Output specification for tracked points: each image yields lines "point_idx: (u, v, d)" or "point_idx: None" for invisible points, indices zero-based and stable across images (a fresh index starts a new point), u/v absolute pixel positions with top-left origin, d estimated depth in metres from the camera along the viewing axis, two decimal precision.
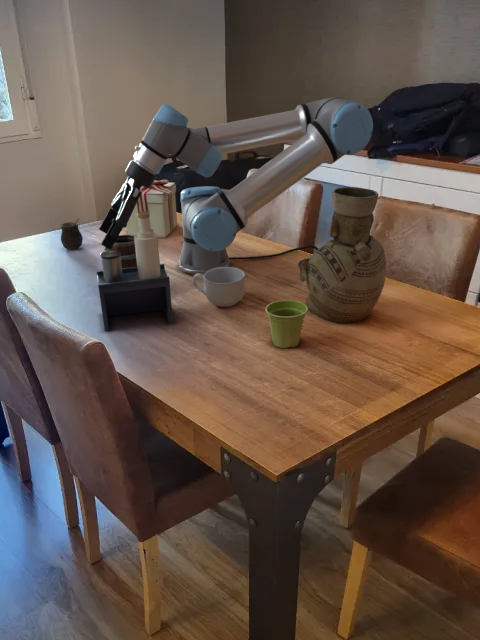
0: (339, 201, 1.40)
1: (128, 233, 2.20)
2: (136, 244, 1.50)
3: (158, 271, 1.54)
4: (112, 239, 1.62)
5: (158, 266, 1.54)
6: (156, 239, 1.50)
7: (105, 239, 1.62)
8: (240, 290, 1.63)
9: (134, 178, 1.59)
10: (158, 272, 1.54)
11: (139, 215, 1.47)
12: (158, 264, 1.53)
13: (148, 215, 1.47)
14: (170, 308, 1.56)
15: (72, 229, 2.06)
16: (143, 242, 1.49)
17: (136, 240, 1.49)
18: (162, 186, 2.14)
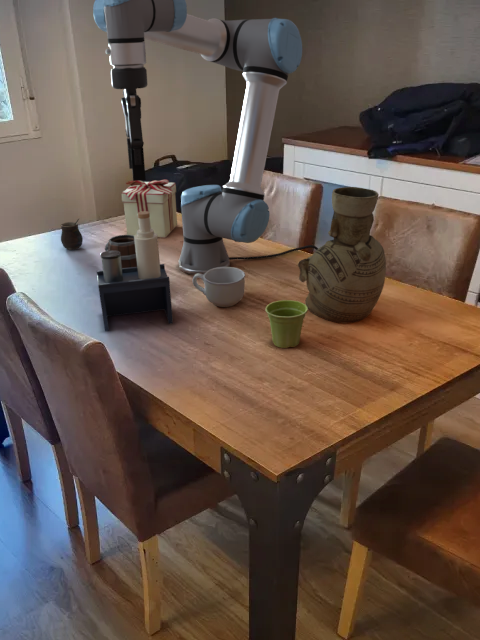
0: (339, 201, 1.40)
1: (128, 233, 2.20)
2: (136, 244, 1.50)
3: (158, 271, 1.54)
4: (140, 167, 1.36)
5: (158, 266, 1.54)
6: (156, 239, 1.50)
7: (134, 172, 1.37)
8: (240, 290, 1.63)
9: (123, 86, 1.31)
10: (158, 272, 1.54)
11: (139, 215, 1.47)
12: (158, 264, 1.53)
13: (148, 215, 1.47)
14: (170, 308, 1.56)
15: (72, 229, 2.06)
16: (143, 242, 1.49)
17: (136, 240, 1.49)
18: (162, 186, 2.14)
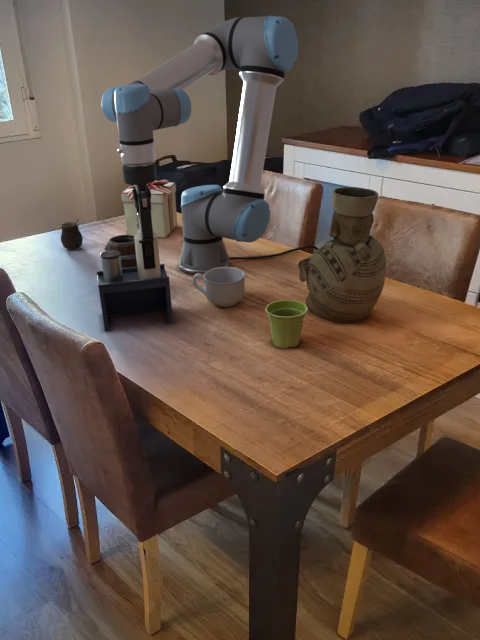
0: (339, 201, 1.40)
1: (128, 233, 2.20)
2: (136, 244, 1.50)
3: (158, 271, 1.54)
4: (151, 258, 1.50)
5: (158, 266, 1.54)
6: (156, 239, 1.50)
7: (145, 262, 1.50)
8: (240, 290, 1.63)
9: (135, 182, 1.40)
10: (158, 272, 1.54)
11: None
12: (158, 264, 1.53)
13: None
14: (170, 308, 1.56)
15: (72, 229, 2.06)
16: None
17: (136, 240, 1.49)
18: (162, 186, 2.14)
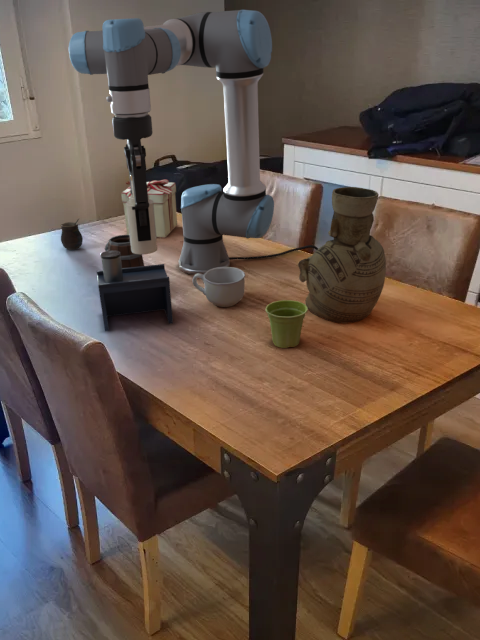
0: (339, 201, 1.40)
1: (128, 233, 2.20)
2: (128, 212, 1.29)
3: (154, 244, 1.33)
4: (146, 228, 1.29)
5: (154, 238, 1.33)
6: (152, 206, 1.29)
7: (139, 233, 1.30)
8: (240, 290, 1.63)
9: (127, 137, 1.20)
10: (154, 245, 1.33)
11: None
12: (154, 236, 1.33)
13: None
14: (170, 308, 1.56)
15: (72, 229, 2.06)
16: None
17: (128, 207, 1.28)
18: (162, 186, 2.14)
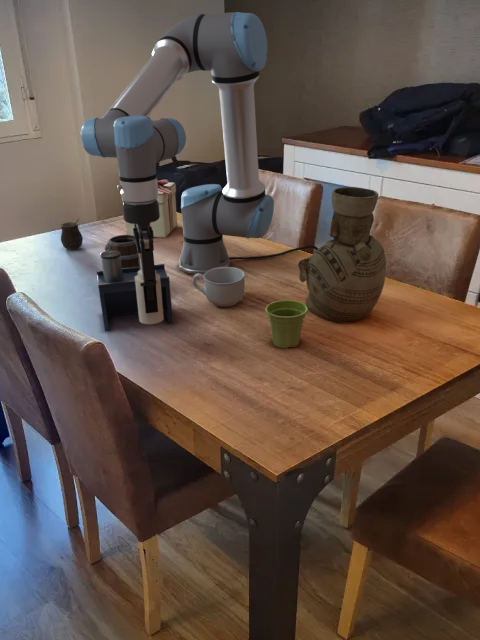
0: (339, 201, 1.40)
1: (128, 233, 2.20)
2: (137, 286, 1.38)
3: (161, 314, 1.42)
4: (153, 301, 1.38)
5: (161, 309, 1.41)
6: (159, 281, 1.38)
7: (146, 306, 1.38)
8: (240, 290, 1.63)
9: (136, 222, 1.28)
10: (161, 316, 1.42)
11: None
12: (161, 307, 1.41)
13: None
14: (170, 308, 1.56)
15: (72, 229, 2.06)
16: None
17: (137, 282, 1.37)
18: (162, 186, 2.14)
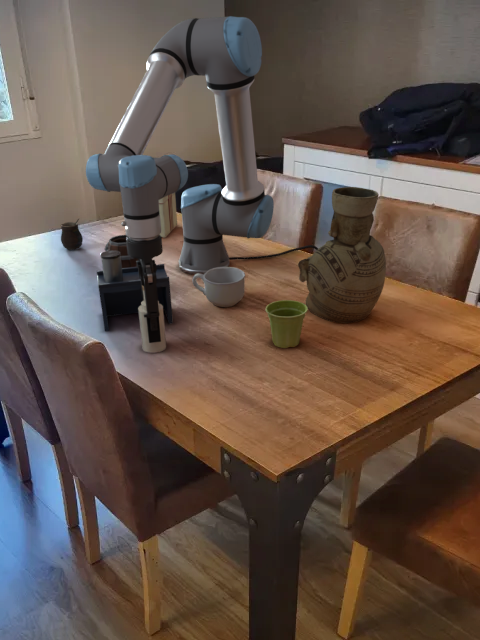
0: (339, 201, 1.40)
1: None
2: (140, 316, 1.42)
3: (163, 343, 1.46)
4: (156, 331, 1.42)
5: (163, 338, 1.46)
6: (161, 311, 1.42)
7: (149, 336, 1.42)
8: (240, 290, 1.63)
9: (140, 257, 1.32)
10: (163, 344, 1.46)
11: None
12: (163, 336, 1.45)
13: None
14: (170, 308, 1.56)
15: (72, 229, 2.06)
16: None
17: (140, 313, 1.41)
18: None
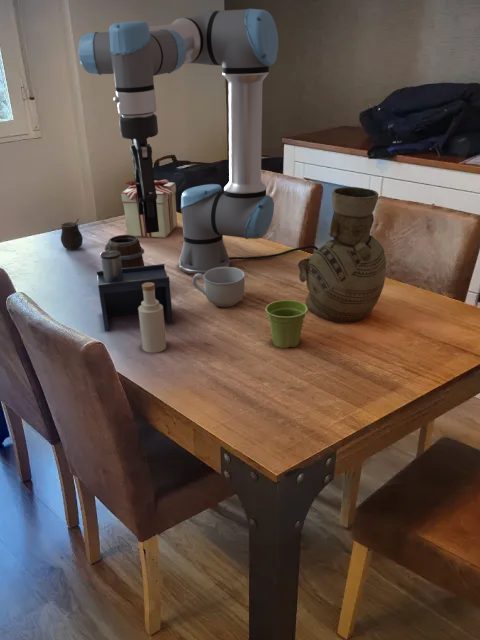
0: (339, 201, 1.40)
1: (128, 233, 2.20)
2: (140, 316, 1.42)
3: (163, 343, 1.46)
4: (153, 219, 1.30)
5: (163, 338, 1.46)
6: (161, 311, 1.42)
7: (146, 224, 1.30)
8: (240, 290, 1.63)
9: (133, 136, 1.24)
10: (163, 344, 1.46)
11: (144, 287, 1.39)
12: (163, 336, 1.45)
13: (153, 287, 1.39)
14: (170, 308, 1.56)
15: (72, 229, 2.06)
16: (148, 315, 1.41)
17: (140, 313, 1.41)
18: (162, 186, 2.14)
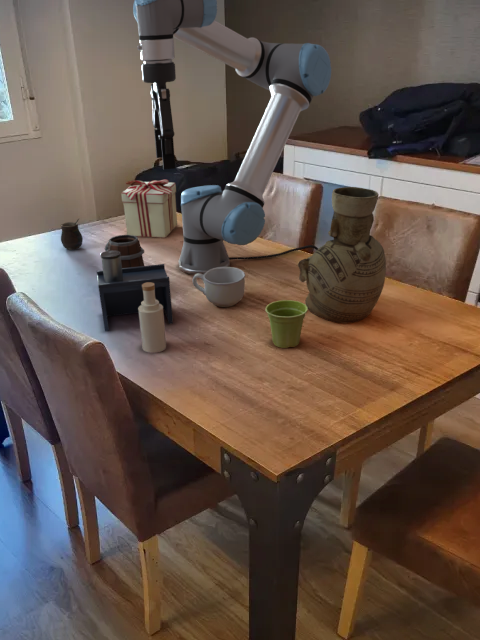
0: (339, 201, 1.40)
1: (128, 233, 2.20)
2: (140, 316, 1.42)
3: (163, 343, 1.46)
4: (170, 156, 1.46)
5: (163, 338, 1.46)
6: (161, 311, 1.42)
7: (164, 161, 1.46)
8: (240, 290, 1.63)
9: (154, 80, 1.40)
10: (163, 344, 1.46)
11: (144, 287, 1.39)
12: (163, 336, 1.45)
13: (153, 287, 1.39)
14: (170, 308, 1.56)
15: (72, 229, 2.06)
16: (148, 315, 1.41)
17: (140, 313, 1.41)
18: (162, 186, 2.14)
